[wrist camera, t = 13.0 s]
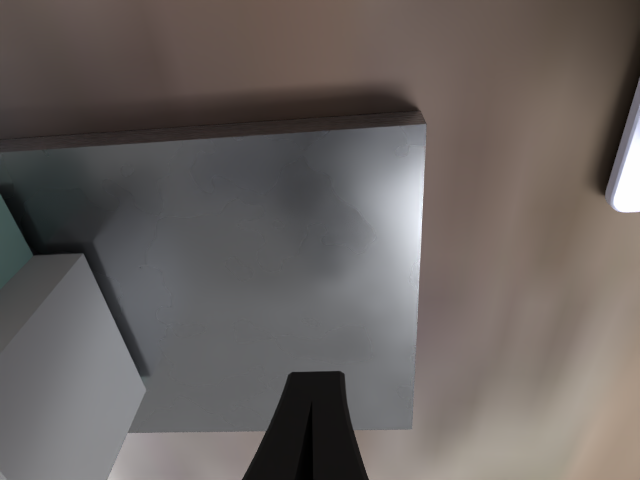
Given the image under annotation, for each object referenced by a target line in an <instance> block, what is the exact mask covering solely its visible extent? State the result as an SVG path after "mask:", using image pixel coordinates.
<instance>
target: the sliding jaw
mask: <svg viewBox="0 0 640 480" xmlns="http://www.w3.org/2000/svg"><path fill="white" fill-rule="evenodd" d="M145 392H146V388H145V386H144V384H143V382H142V380H141V377H140V375H139V373H138V371H137V369H136V367H135V364H134V362H133V360H132V358H131V356H130V354H129V351H128V349H127V347H126V345H125V343H124V341H123V338H122V336H121V334H120V332H119V330H118V328H117V325H116V323H115V321H114V319H113V317H112V315H111V312H110V310H109V308H108V306H107V304H106V301H105V299H104V297H103V295H102V293H101V291H100V288H99V286H98V284H97V282H96V280H95V278H94V275H93V273H92V271H91V269H90V267H89V265H88V262H87V260H86V258H85V256H84V254H83V253H79V254H58V255H36V256H33V254H32V252H31V250H30V248H29V246H28V245H27V243H26V241H25V239H24V237H23V235H22V233H21V232H20V230H19V228H18V226H17V224H16V222H15V220H14V219H13V217H12V215H11V213H10V211H9V209H8V207H7V205H6V204H5V202H4V200H3V198H2V196H1V194H0V480H107V479H108V476H109V474H110V472H111V470H112V467H113V465H114V463H115V460H116V458H117V456H118V454H119V451H120V449H121V447H122V444H123V442H124V440H125V438H126V435H127V433H128V431H129V428H130V426H131V424H132V422H133V419H134V417H135V415H136V412H137V410H138V408H139V405H140V403H141V401H142V399H143V396H144V394H145Z"/></svg>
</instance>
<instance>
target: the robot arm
mask: <svg viewBox="0 0 640 480" xmlns="http://www.w3.org/2000/svg"><path fill="white" fill-rule="evenodd" d="M605 199H606V201H607V203H608V204H609V205H610V206H611V207H612V208H613V209H615V210H616V211H618V212H640V78H639V82H638V85H637V88H636V92H635V95H634V98H633V102H632V105H631V108H630V112H629V115H628V118H627V122H626V125H625V128H624V132H623V135H622V138H621V142H620V145H619V148H618V152H617V155H616V159H615V162H614V165H613V169H612V172H611V175H610V179H609V182H608V185H607V189H606V192H605ZM242 480H369V479H368V476H367V473H366V470H365V467H364V464H363V461H362V458H361V454H360V451H359V448H358V444H357V441H356V438H355V434H354V430H353V427H352V423H351V418H350V414H349V409H348V404H347V394H346V383H345V374H344V373H342V372H341V371H312V372H291V373H290V374H289V375H288V377H287V380H286V384H285V387H284V389H283V392H282V395H281V398H280V400H279V403H278V405H277V408H276V410H275V413H274V415H273V417H272V420H271V422H270V424H269V427H268V429H267V431H266V433H265V435H264V437H263V439H262V441H261V444H260V446H259V448H258V450H257V452H256V454H255V456H254V458H253V460H252V462H251V464H250V466H249V468H248V469H247V471H246V473H245V475H244V477H243V479H242Z"/></svg>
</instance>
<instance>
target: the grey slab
mask: <svg viewBox="0 0 640 480" xmlns="http://www.w3.org/2000/svg"><path fill="white" fill-rule="evenodd" d="M425 145H426V122H425V120H424V117H423V115H422V113H421V111H407V112H393V113H379V114H364V115H350V116H336V117H321V118H307V119H292V120H278V121H264V122H249V123H235V124H221V125H206V126H192V127H177V128H163V129H149V130H134V131H120V132H106V133H91V134H77V135H63V136H48V137H34V138H19V139H5V140H0V194H1V196H2V198H3V200H4V202H5V204H6V205H7V207H8V209H9V211H10V213H11V215H12V217H13V219H14V220H15V222H16V224H17V226H18V228H19V230H20V232H21V233H22V235H23V237H24V239H25V241H26V243H27V245H28V246H29V248H30V250H31V252H32V254H33V256H36V255H58V254H79V253H83V254H84V256H85V258H86V260H87V262H88V265H89V267H90V269H91V271H92V273H93V275H94V278H95V280H96V282H97V284H98V286H99V288H100V291H101V293H102V295H103V297H104V299H105V301H106V304H107V306H108V308H109V310H110V312H111V315H112V317H113V319H114V321H115V323H116V325H117V328H118V330H119V332H120V334H121V336H122V338H123V341H124V343H125V345H126V347H127V349H128V351H129V354H130V356H131V358H132V360H133V362H134V364H135V367H136V369H137V371H138V373H139V375H140V377H141V380H142V382H143V384H144V386H145V388H146V392H145V394H144V396H143V399H142V401H141V403H140V405H139V408H138V410H137V412H136V415H135V417H134V419H133V422H132V424H131V426H130V428H129V431H128V433H153V432H235V431H267V429H268V427H269V424H270V422H271V420H272V417H273V415H274V413H275V410H276V408H277V405H278V403H279V400H280V398H281V395H282V392H283V389H284V387H285V384H286V380H287V377H288V375H289V374H290V373H291V372H312V371H341V372H342V373H344V374H345V383H346V394H347V404H348V409H349V414H350V418H351V423H352V427H353V430H398V429H412V419H413V398H414V377H415V356H416V335H417V314H418V293H419V271H420V250H421V229H422V208H423V187H424V166H425Z"/></svg>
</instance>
